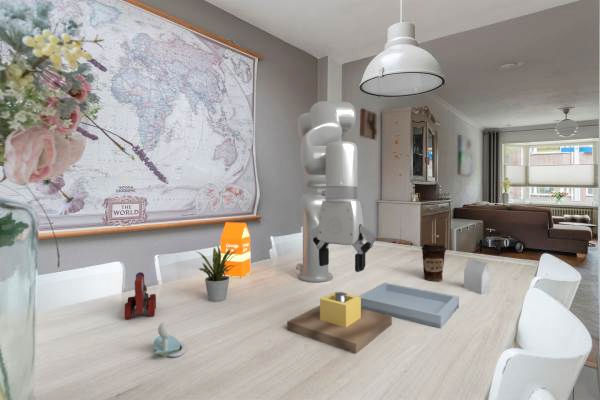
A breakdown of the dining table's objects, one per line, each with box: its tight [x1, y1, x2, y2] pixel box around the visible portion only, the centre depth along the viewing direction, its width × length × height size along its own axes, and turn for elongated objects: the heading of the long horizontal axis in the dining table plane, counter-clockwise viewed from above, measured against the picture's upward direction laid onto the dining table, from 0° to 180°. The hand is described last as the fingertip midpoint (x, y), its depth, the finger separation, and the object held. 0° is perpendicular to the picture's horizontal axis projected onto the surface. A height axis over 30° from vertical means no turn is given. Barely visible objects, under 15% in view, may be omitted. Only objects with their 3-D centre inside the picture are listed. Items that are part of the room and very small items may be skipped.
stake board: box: [286, 305, 393, 354], centre depth 78 cm, size 18×18×2 cm
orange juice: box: [220, 221, 251, 278], centre depth 126 cm, size 8×9×20 cm
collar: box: [319, 291, 361, 327], centre depth 78 cm, size 7×7×5 cm
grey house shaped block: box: [463, 257, 491, 295], centre depth 107 cm, size 4×7×10 cm, turn 20°
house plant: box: [195, 244, 243, 303], centre depth 97 cm, size 14×14×16 cm
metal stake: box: [335, 291, 347, 303], centre depth 78 cm, size 3×3×6 cm
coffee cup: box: [421, 242, 447, 282], centre depth 120 cm, size 9×8×13 cm
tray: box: [357, 282, 460, 329], centre depth 91 cm, size 22×18×3 cm
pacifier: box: [152, 322, 187, 358], centre depth 66 cm, size 7×6×6 cm
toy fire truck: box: [123, 271, 157, 320], centre depth 87 cm, size 7×12×10 cm, turn 21°
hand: (341, 267), depth 77 cm, fingers open, 9 cm apart
